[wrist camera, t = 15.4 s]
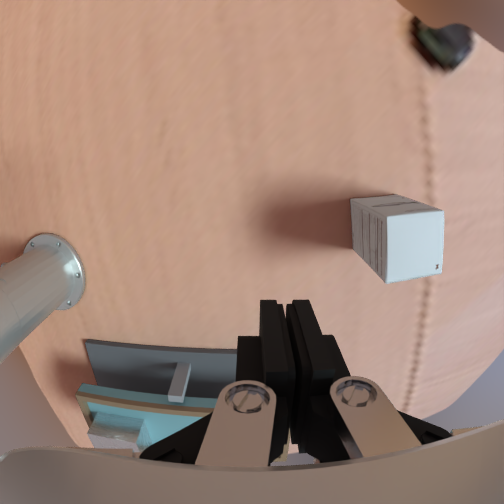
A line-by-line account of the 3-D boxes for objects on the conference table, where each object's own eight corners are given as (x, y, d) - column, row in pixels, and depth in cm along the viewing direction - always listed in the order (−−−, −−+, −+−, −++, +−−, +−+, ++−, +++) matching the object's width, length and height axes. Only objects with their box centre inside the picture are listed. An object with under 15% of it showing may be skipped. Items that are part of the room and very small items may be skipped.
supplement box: (397, 192, 40) (447, 209, 28) (397, 244, 42) (443, 276, 30) (348, 196, 40) (386, 214, 28) (350, 250, 43) (385, 286, 31)
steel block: (108, 435, 42) (99, 456, 38) (97, 411, 41) (86, 433, 36) (152, 442, 42) (145, 465, 38) (144, 419, 41) (135, 442, 36)
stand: (113, 420, 53) (99, 452, 44) (87, 339, 47) (64, 369, 38) (285, 432, 53) (289, 468, 44) (294, 349, 47) (302, 386, 39)
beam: (102, 432, 45) (96, 443, 42) (82, 383, 41) (75, 394, 39) (284, 447, 45) (286, 461, 42) (291, 398, 42) (293, 413, 39)
